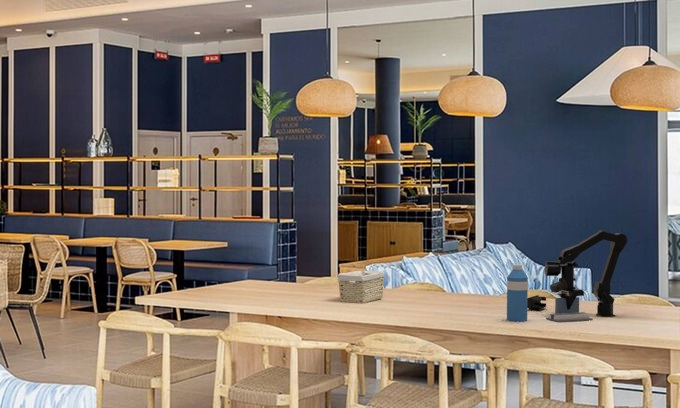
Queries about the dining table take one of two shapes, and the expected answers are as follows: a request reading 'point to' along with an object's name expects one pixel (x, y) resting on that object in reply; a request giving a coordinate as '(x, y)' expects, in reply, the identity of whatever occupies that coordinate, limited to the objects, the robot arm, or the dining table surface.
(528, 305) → the end cap
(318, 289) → the dining table surface
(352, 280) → the storage basket
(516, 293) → the water bottle
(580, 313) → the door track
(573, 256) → the robot arm
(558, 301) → the door panel
